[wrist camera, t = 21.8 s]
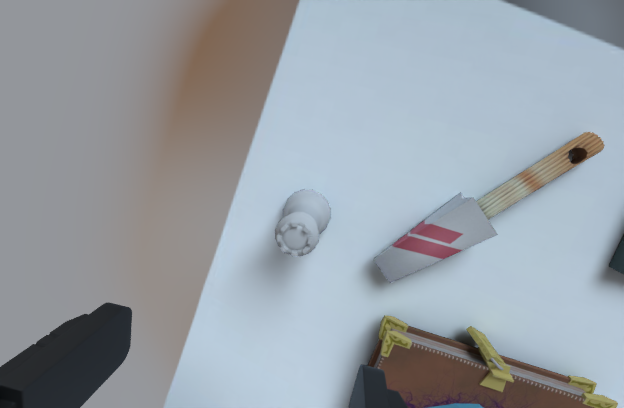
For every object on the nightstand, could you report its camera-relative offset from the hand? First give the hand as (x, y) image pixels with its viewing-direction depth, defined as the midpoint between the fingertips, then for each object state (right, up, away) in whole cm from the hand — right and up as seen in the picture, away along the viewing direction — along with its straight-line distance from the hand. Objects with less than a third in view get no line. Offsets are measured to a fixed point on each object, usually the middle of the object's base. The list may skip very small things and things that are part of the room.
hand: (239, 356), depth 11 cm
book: (+20, -15, +22) cm, 33 cm away
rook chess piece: (+2, +5, +19) cm, 20 cm away
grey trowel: (+17, +5, +18) cm, 25 cm away
